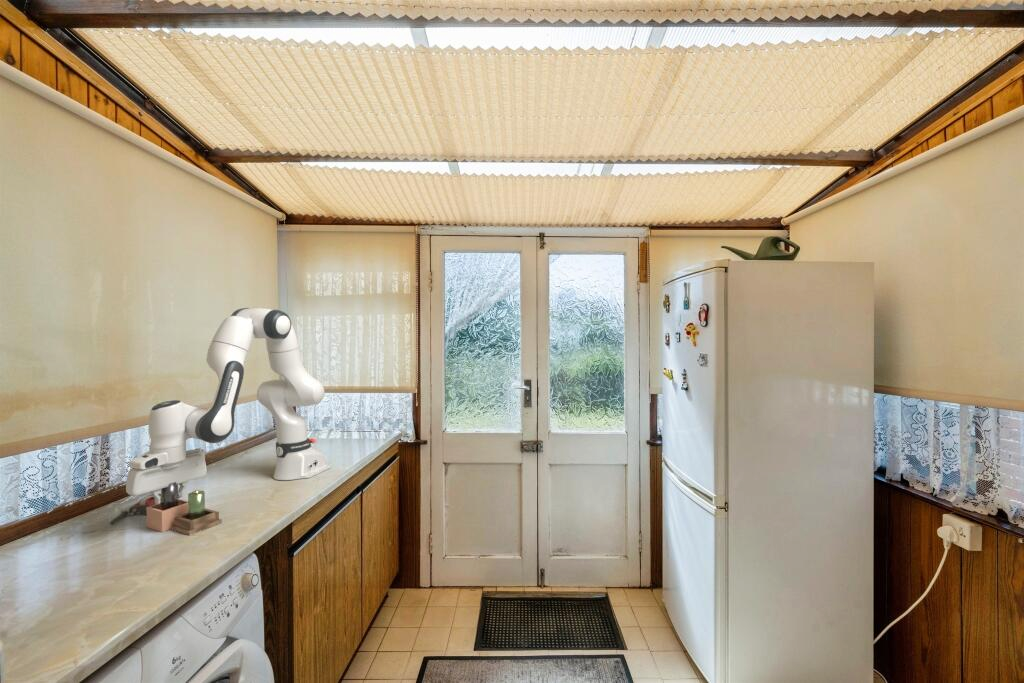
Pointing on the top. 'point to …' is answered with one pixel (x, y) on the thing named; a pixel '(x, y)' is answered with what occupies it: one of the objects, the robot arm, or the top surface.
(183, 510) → the cup
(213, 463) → the top surface
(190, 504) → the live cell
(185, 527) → the cell holder
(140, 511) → the walkie-talkie
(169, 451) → the robot arm
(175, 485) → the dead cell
